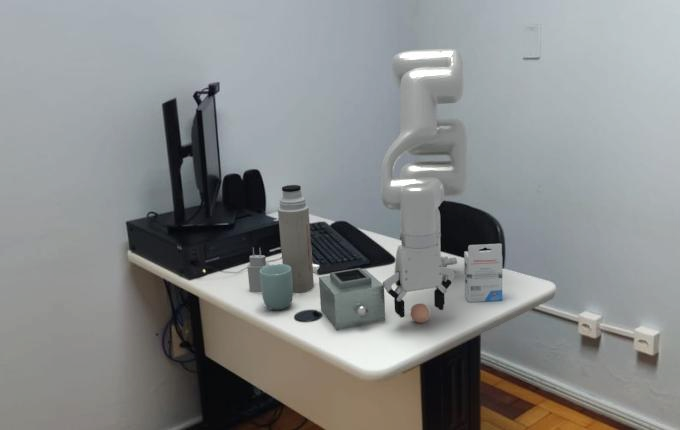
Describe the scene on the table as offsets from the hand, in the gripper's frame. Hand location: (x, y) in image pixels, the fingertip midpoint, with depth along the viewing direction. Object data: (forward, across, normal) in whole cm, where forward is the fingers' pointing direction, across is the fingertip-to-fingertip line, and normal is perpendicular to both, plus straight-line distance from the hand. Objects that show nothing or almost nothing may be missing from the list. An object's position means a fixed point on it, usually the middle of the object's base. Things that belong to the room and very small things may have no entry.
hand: (419, 311), depth 141 cm
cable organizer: (+2, +16, -46) cm, 48 cm away
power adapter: (+3, +30, -37) cm, 47 cm away
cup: (+3, +28, -24) cm, 37 cm away
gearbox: (+3, +13, -11) cm, 17 cm away
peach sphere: (+3, 0, -1) cm, 3 cm away
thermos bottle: (+2, +20, -34) cm, 39 cm away
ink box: (+3, -20, -7) cm, 22 cm away
